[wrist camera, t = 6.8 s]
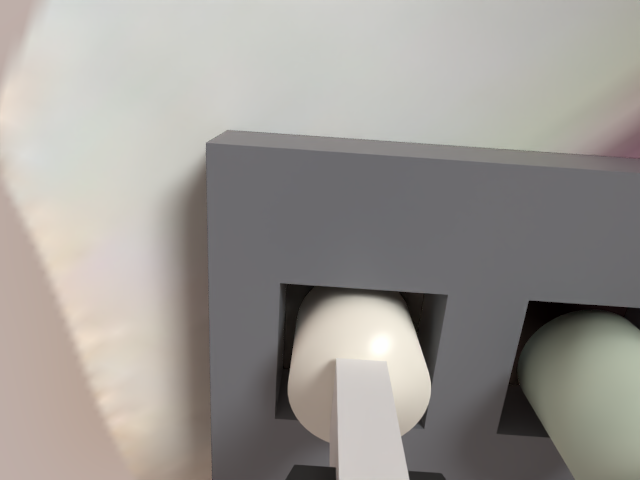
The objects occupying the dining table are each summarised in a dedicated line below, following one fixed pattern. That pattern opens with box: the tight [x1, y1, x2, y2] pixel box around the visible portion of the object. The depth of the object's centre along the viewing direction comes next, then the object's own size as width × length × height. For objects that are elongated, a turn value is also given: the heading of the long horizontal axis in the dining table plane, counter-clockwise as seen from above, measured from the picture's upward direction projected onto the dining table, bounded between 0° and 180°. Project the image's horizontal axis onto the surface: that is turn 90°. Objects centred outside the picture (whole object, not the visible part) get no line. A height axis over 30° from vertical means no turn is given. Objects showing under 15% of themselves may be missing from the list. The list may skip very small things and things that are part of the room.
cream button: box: [288, 286, 431, 443], centre depth 16 cm, size 4×4×4 cm
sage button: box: [517, 309, 640, 480], centre depth 15 cm, size 4×4×4 cm
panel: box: [206, 130, 640, 480], centre depth 17 cm, size 14×26×3 cm, turn 86°
